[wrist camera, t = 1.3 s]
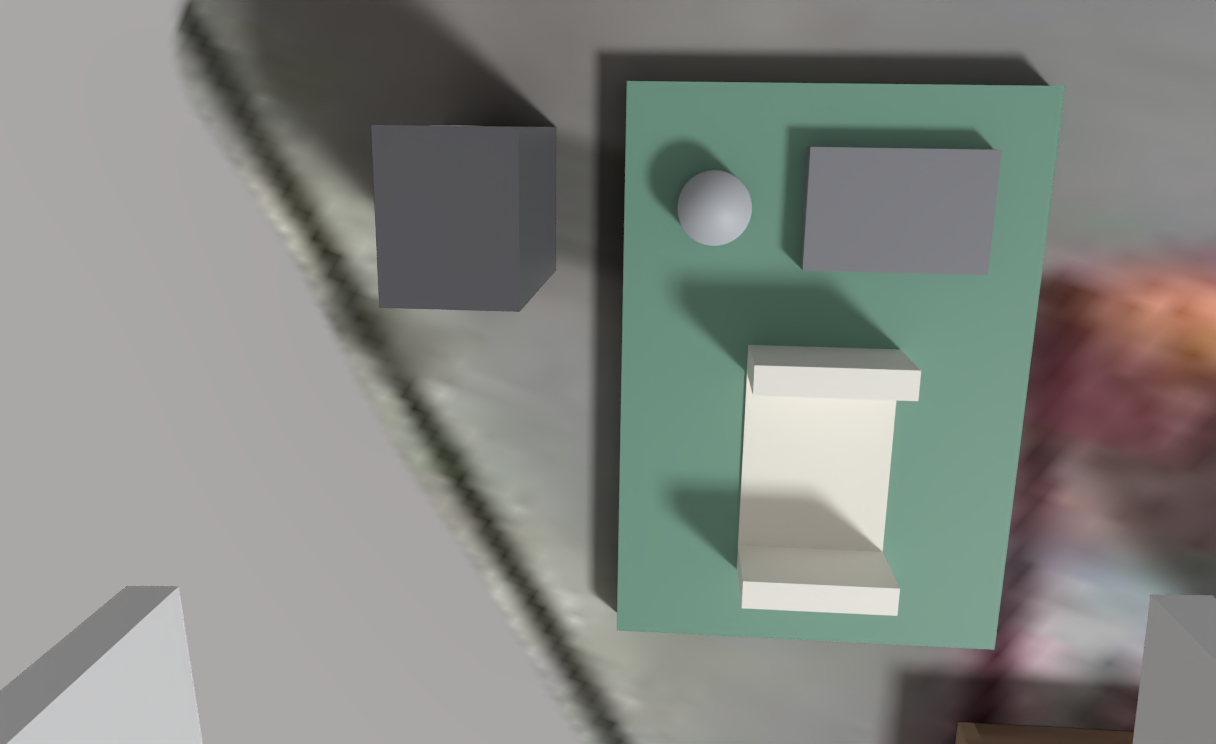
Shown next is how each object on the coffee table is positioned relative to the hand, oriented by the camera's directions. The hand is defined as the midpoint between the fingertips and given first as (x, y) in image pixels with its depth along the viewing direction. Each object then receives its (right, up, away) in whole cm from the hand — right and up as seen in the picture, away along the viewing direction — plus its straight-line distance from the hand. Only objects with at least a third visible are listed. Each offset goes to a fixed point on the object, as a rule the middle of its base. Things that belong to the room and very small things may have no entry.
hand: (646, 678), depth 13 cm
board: (+7, +4, +22) cm, 23 cm away
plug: (-4, +10, +21) cm, 24 cm away
